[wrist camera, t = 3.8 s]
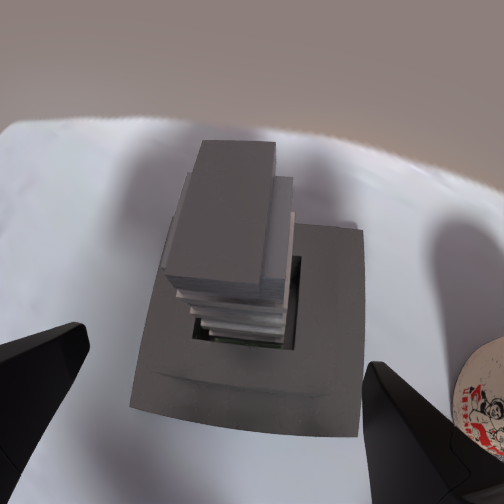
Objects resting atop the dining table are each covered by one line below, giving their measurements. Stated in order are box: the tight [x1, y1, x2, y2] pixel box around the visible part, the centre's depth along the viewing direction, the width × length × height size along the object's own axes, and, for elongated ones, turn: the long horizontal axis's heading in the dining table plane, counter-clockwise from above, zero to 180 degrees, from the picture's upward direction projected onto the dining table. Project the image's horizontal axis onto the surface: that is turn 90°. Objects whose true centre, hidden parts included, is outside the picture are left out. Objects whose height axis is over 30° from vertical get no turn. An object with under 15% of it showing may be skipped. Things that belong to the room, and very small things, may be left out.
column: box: [161, 140, 295, 349], centre depth 14 cm, size 5×4×12 cm
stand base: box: [130, 217, 365, 437], centre depth 18 cm, size 14×14×6 cm
